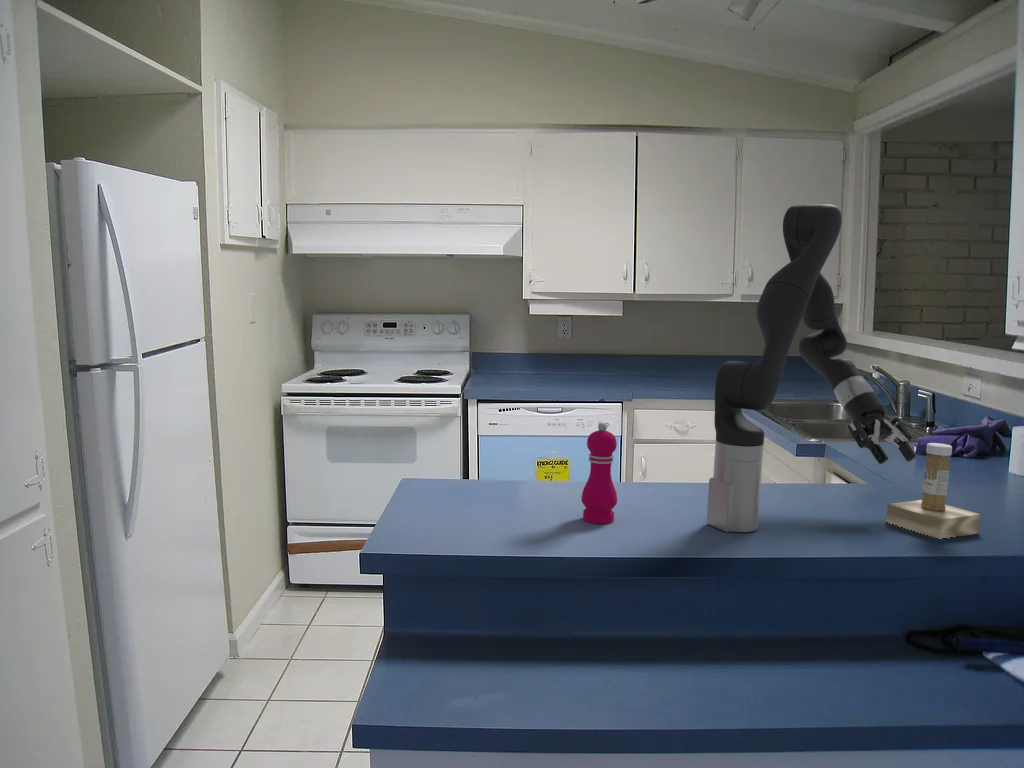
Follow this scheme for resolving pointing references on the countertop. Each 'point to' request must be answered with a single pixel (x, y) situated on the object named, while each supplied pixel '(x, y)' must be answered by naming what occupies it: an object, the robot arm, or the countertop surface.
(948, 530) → the wooden riser
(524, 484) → the countertop surface
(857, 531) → the countertop surface
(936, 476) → the sprinkles bottle
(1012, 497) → the countertop surface
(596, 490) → the pepper mill
